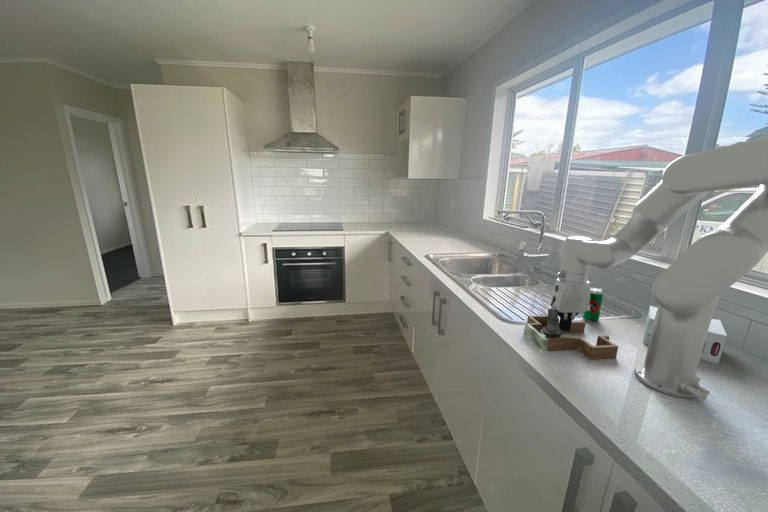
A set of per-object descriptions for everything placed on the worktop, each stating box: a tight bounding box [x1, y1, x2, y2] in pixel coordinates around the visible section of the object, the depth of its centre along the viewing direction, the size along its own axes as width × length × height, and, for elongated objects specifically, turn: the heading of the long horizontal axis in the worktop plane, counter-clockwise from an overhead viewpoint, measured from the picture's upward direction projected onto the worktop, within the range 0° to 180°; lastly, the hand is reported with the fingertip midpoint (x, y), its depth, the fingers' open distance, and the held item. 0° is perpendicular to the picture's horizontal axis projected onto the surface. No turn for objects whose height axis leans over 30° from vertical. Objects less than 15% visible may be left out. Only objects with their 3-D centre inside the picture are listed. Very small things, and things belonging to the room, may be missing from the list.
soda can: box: [582, 287, 605, 323], centre depth 112 cm, size 5×5×12 cm
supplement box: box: [642, 305, 728, 364], centre depth 95 cm, size 17×13×9 cm
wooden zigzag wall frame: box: [523, 314, 619, 361], centre depth 98 cm, size 22×21×4 cm
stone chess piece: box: [542, 306, 563, 338], centre depth 97 cm, size 6×6×12 cm
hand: (564, 329), depth 98 cm, fingers closed
